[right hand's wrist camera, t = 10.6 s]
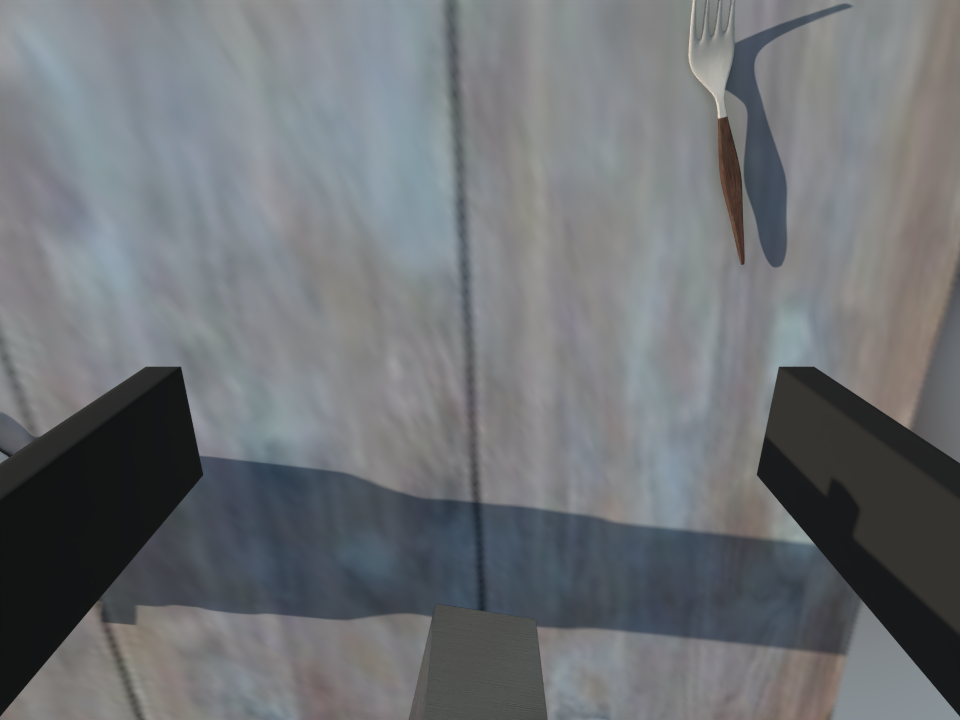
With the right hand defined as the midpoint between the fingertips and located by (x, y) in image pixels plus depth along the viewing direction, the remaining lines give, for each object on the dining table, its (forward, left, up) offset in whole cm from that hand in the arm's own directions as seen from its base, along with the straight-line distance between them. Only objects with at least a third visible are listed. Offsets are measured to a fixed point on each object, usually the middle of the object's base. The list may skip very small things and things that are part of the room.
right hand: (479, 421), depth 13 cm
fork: (-16, +2, -25) cm, 30 cm away
